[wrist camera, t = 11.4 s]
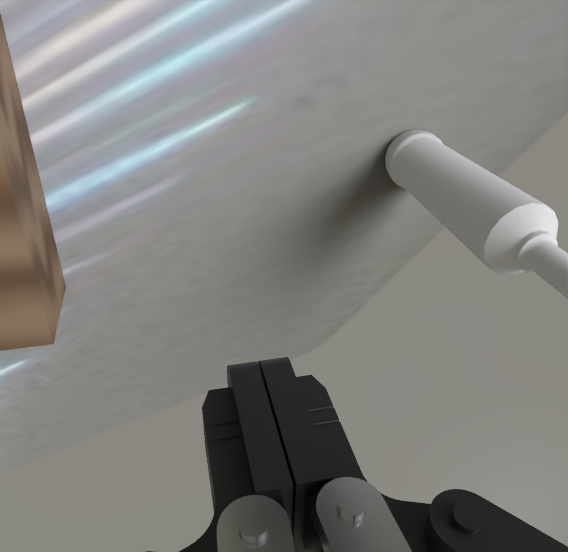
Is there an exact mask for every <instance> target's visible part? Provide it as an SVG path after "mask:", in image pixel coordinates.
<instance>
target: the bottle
mask: <svg viewBox="0 0 568 552" xmlns="http://www.w3.org/2000/svg"><path fill="white" fill-rule="evenodd" d="M385 164H386V170H387V172H388V174H389V175H390V177H391V179H392V180H393V181H394V182H395V183H396V184H397V185H398V186H400V187H402V188H403V189H407V190H408V191H409V192H410V193H411V194H412V195H413V196H414V197H415V198H416V199H417V200H418V201H419V202H420V203H421V204H422V205H423V206H424V207H426V208H427V209H428V210H429V211H430V212H431V213H432V214H433V215H434V216H435V217H436V218H437V219H438V220H439V221H440V222H441V223H442V224H443V225H444V226H445V227H446V228H447V229H448V230H449V231H451V232H452V233H453V234H454V235H455V236H456V237H457V238H458V239H459V240H460V241H461V242H462V243H463V244H464V245H465V246H466V247H467V248H468V249H469V250H470V251H471V252H472V253H473V254H475V255H476V256H477V257H478V258H479V259H480V260H481V261H482V262H483V263H484V264H485V265H486V266H487V267H488V268H489V269H491V270H492V271H494V272H496V273H497V274H500V275H514V274H517V273H520V272H523V271H526V272H527V271H528V272H533V271H534V272H535V273H536V274H537V275H539V276H540V277H541V278H542V279H544V280H545V281H546V282H547V283H549V284H550V285H551V286H552V287H554V288H555V289H556V290H557V291H559V292H560V293H561V294H562V295H563V296H565V297H566V298H567V299H568V254H567V253H566V252H564V251H563V250H562V249H560V248H559V247H557V245H558V243H557V241H556V236H557V229H558V221H557V218H556V215H555V212H554V211H553V210H552V209H550V208H549V207H548V206H546V205H545V204H543V203H541V202H540V201H538V200H536V199H535V198H533V197H531V196H530V195H528V194H526V193H525V192H523V191H521V190H519V189H518V188H516V187H514V186H513V185H511V184H509V183H508V182H506V181H504V180H502V179H501V178H499V177H497V176H496V175H494V174H492V173H491V172H489V171H487V170H485V169H484V168H482V167H480V166H479V165H477V164H475V163H474V162H472V161H470V160H468V159H467V158H465V157H463V156H462V155H460V154H458V153H457V152H455V151H453V150H451V149H450V148H448V147H446V146H445V145H443V144H442V142H441V140H440V139H438V138H437V137H436V136H434V135H433V134H431V133H429V132H427V131H422V130H410V131H406V132H403V133H402V134H400V135H399V136H397V137H396V138H395V139H394V140H393V141H392V143H391V144H390V146H389V147H388V149H387V153H386V156H385Z"/></svg>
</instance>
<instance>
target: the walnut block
mask: <svg viewBox="0 0 568 552" xmlns="http://www.w3.org/2000/svg"><path fill="white" fill-rule="evenodd" d="M65 288H66V286H65V282H64V278H63V273H62V269H61V265H60V261H59V257H58V253H57V248H56V244H55V240H54V236H53V232H52V228H51V223H50V219H49V215H48V211H47V207H46V203H45V198H44V194H43V190H42V186H41V182H40V178H39V173H38V169H37V165H36V161H35V157H34V153H33V148H32V144H31V140H30V136H29V132H28V128H27V123H26V119H25V115H24V111H23V107H22V102H21V98H20V94H19V90H18V86H17V82H16V77H15V73H14V69H13V65H12V61H11V57H10V52H9V48H8V44H7V40H6V36H5V32H4V27H3V23H2V19H1V15H0V350H9V349H17V348H25V347H33V346H41V345H49V344H53V343H54V338H55V334H56V329H57V324H58V320H59V315H60V311H61V306H62V302H63V297H64V292H65Z"/></svg>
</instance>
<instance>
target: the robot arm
mask: <svg viewBox="0 0 568 552" xmlns="http://www.w3.org/2000/svg"><path fill="white" fill-rule="evenodd" d="M227 379H228V388H221V389H214V390H209V391H208V394H207V397H206V399H205V402H204V404H203V407H202V412H203V423H204V435H205V446H206V455H207V463H208V469H209V478H210V485H211V493H212V500H213V508H214V517H213V520H212V522H211V524H210V526H209V527H208V529H207V530H206V532H205V533H204V534H203V535H202V536H201V537H200V538H199V539H198V540H197V541H196V542H194V543H193V544H191V545H190V546H188V547H186V548H185V549H183V550H181V551H179V552H568V547H567V546H565V545H564V544H562V543H560V542H558V541H557V540H555V539H553V538H552V537H550V536H548V535H546V534H544V533H543V532H541V531H539V530H538V529H536V528H534V527H533V526H531V525H529V524H527V523H526V522H524V521H522V520H520V519H519V518H517V517H515V516H513V515H512V514H510V513H508V512H506V511H505V510H503V509H501V508H500V507H498V506H496V505H494V504H493V503H491V502H489V501H487V500H486V499H484V498H482V497H481V496H479V495H477V494H475V493H472V492H469V491H465V490H460V489H452V490H447V491H444V492H442V493H440V494H439V495H437V496H436V497H435V498H434V500H433V501H432V504H425V503H417V502H407V501H400V500H396V499H392V498H389V497H387V496H385V495H383V494H381V493H380V492H379V491H378V490H377V489H376V488H375V487H374V486H372V485H371V484H369V483H368V482H367V480H366V479H365V478H364V476H363V474H362V472H361V470H360V467H359V465H358V463H357V461H356V458H355V456H354V453H353V451H352V449H351V446H350V444H349V442H348V439H347V437H346V435H345V432H344V430H343V428H342V425H341V423H340V422H339V418H338V416H337V413H336V411H335V409H334V408H333V404H332V402H331V400H330V397H329V395H328V392H327V390H326V388H325V387H324V386H323V385H322V384H320V382H318V381H317V380H316V379H315V378H314V377H313V376H312V375H307V376H301V377H296V376H295V373H294V371H293V368H292V365H291V362H290V360H289V358H288V357H284V358H277V359H270V360H263V361H258V363H257V362H249V363H242V364H235V365H228V366H227ZM148 552H149V551H148Z"/></svg>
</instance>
